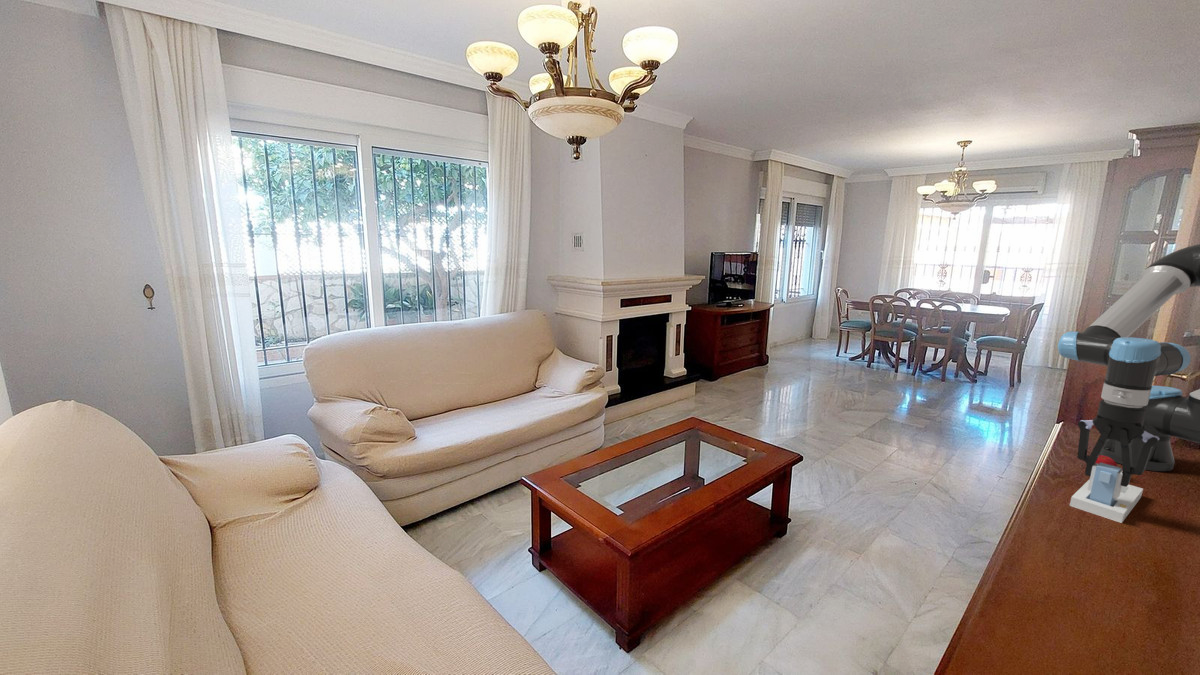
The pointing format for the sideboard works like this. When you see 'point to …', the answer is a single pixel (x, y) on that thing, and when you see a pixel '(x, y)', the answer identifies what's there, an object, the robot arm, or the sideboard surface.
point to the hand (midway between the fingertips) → (1103, 492)
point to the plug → (1104, 483)
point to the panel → (1115, 512)
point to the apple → (1106, 460)
